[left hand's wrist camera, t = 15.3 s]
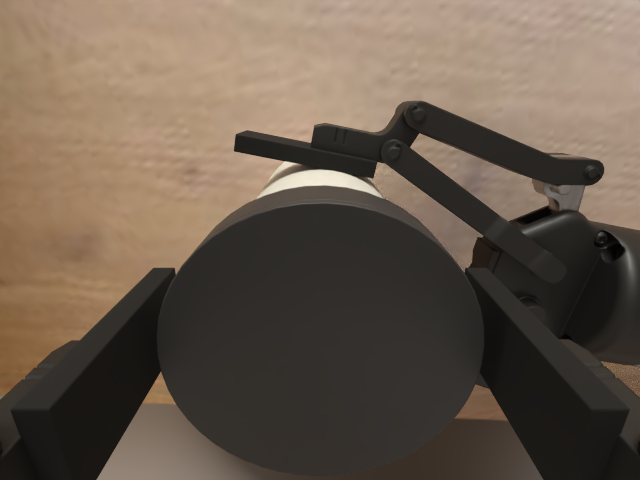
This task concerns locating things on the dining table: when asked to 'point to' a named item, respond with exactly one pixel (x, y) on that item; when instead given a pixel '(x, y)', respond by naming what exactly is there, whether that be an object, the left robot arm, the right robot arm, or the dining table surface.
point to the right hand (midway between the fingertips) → (231, 224)
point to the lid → (320, 333)
